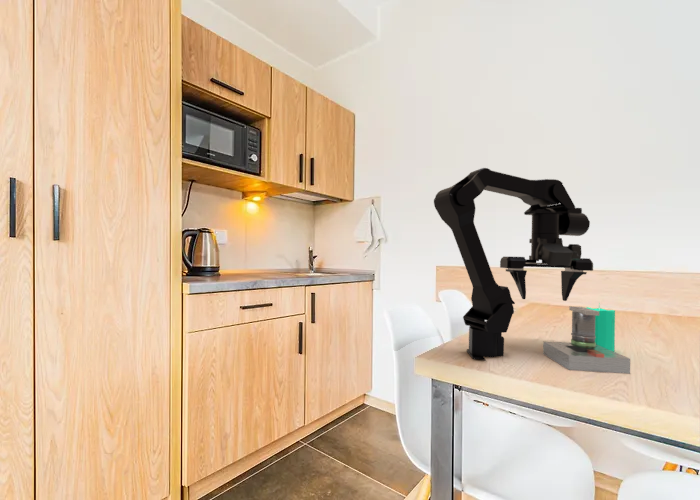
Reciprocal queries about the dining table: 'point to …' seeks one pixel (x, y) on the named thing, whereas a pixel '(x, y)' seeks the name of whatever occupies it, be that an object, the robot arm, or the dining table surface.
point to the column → (583, 327)
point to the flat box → (586, 358)
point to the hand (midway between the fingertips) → (544, 299)
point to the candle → (605, 328)
